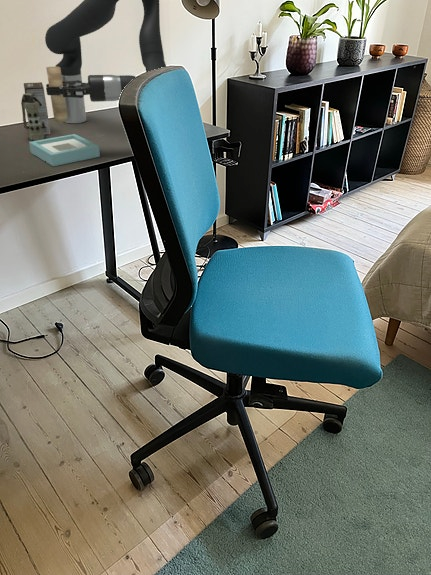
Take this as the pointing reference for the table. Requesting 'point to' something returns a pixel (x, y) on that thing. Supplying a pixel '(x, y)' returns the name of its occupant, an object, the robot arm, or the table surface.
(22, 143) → the table surface
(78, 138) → the socket box
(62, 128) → the table surface
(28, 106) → the grenade model
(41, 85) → the coffee box
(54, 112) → the peg
